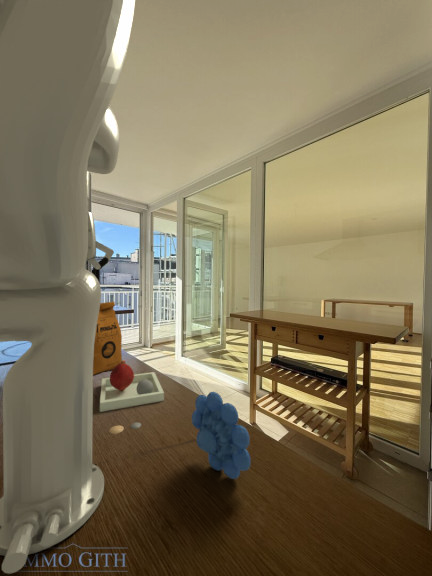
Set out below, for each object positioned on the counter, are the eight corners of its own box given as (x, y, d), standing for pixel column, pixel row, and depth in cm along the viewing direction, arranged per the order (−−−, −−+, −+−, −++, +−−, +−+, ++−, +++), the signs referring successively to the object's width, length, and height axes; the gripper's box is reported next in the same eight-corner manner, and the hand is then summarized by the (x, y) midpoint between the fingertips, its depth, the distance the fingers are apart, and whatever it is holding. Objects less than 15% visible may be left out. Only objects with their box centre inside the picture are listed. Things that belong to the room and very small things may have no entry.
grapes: (173, 465, 39) (174, 392, 39) (202, 444, 44) (203, 379, 44) (230, 511, 32) (233, 421, 31) (257, 480, 37) (260, 402, 36)
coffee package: (126, 368, 81) (126, 302, 80) (88, 380, 71) (88, 304, 70) (109, 361, 86) (109, 300, 86) (72, 372, 76) (72, 302, 76)
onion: (115, 398, 59) (116, 366, 59) (105, 390, 63) (106, 360, 63) (137, 390, 63) (138, 360, 63) (126, 384, 67) (127, 355, 67)
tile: (149, 434, 47) (149, 431, 47) (103, 445, 44) (103, 441, 44) (145, 418, 52) (145, 415, 52) (104, 426, 49) (104, 423, 49)
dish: (163, 402, 59) (164, 392, 59) (99, 414, 53) (99, 403, 53) (154, 380, 72) (154, 372, 72) (101, 387, 66) (101, 378, 66)
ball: (154, 398, 60) (154, 382, 60) (137, 401, 58) (137, 384, 58) (151, 391, 64) (151, 376, 63) (135, 393, 62) (135, 378, 62)
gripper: (9, 193, 44) (9, 287, 44) (113, 205, 50) (112, 288, 51) (24, 205, 51) (24, 287, 51) (114, 215, 57) (113, 287, 58)
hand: (68, 287), depth 51 cm, fingers open, 9 cm apart
